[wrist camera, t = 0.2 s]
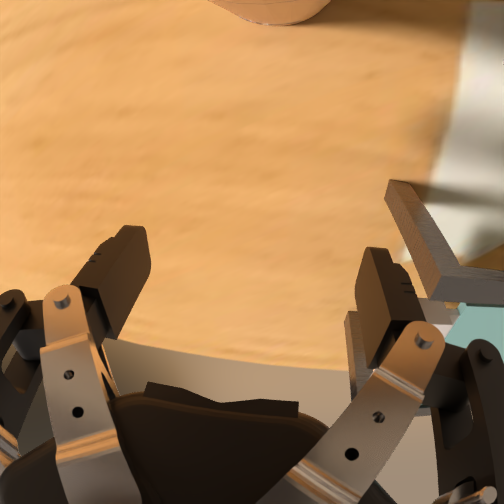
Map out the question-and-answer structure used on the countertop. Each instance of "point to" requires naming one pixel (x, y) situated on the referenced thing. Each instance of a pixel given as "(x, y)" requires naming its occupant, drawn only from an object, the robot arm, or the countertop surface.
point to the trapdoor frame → (424, 275)
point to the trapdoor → (467, 322)
